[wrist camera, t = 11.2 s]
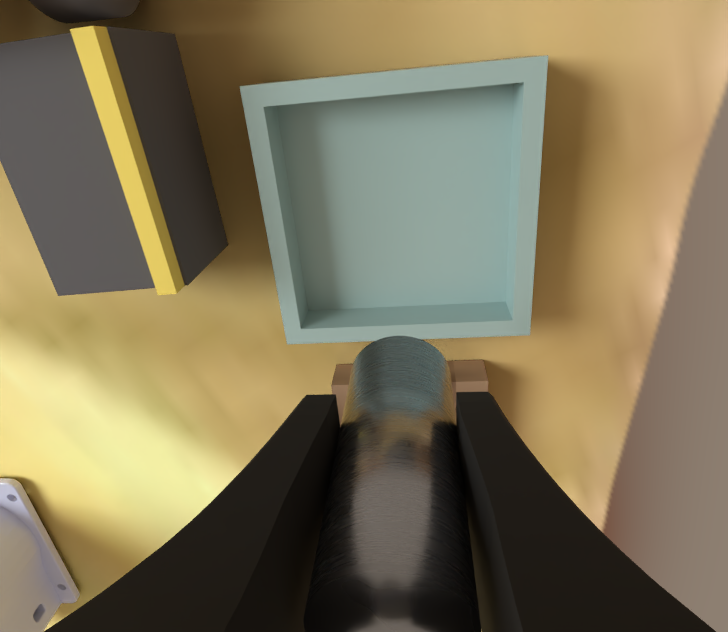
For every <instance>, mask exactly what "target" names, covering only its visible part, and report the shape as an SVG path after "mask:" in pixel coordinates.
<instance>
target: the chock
mask: <svg viewBox="0 0 728 632" xmlns="http://www.w3.org/2000/svg"><path fill="white" fill-rule="evenodd" d="M70 31H71V33H65V34H59V35H52V36H46V37H39V38H33V39H27V40H20V41H14V42H7V43H1V44H0V161H1V163H2V166H3V168H4V170H5V173H6V175H7V177H8V180H9V182H10V184H11V187H12V189H13V191H14V194H15V196H16V198H17V201H18V203H19V205H20V208H21V210H22V212H23V215H24V217H25V219H26V222H27V224H28V226H29V229H30V231H31V233H32V236H33V238H34V240H35V243H36V245H37V247H38V250H39V252H40V254H41V257H42V259H43V261H44V264H45V266H46V268H47V271H48V273H49V275H50V278H51V280H52V282H53V285H54V287H55V289H56V292H57V294H58V296H62V295H75V294H87V293H99V292H111V291H124V290H136V289H148V288H156V291H157V294H158V295H164V294H177V293H178V292H179V291H180V290H181V289H182V288H183V287H184V286H185V285H189V284H190V283H191V282H192V281H193V280H194V279H195V278H196V276H197V275H198V274H199V273H200V272H201V271H202V270H203V269H204V268H205V267H206V266H207V265H208V264H209V263H210V262H211V261H212V260H213V259H214V258H215V257H216V256H217V255H218V254H219V253H220V252H221V251H222V250H223V249H224V248H225V247H226V246H227V245H228V243H227V239H226V235H225V231H224V227H223V223H222V219H221V215H220V211H219V207H218V203H217V199H216V195H215V192H214V188H213V184H212V180H211V176H210V172H209V168H208V164H207V160H206V156H205V152H204V148H203V144H202V140H201V136H200V132H199V128H198V124H197V120H196V116H195V112H194V108H193V104H192V100H191V96H190V92H189V88H188V84H187V81H186V77H185V73H184V69H183V65H182V61H181V57H180V53H179V49H178V45H177V41H176V37H175V34H172V33H163V32H154V31H145V30H136V29H127V28H119V27H101V26H87V27H81V28H74V29H70Z"/></svg>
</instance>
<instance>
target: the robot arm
mask: <svg viewBox="0 0 728 632" xmlns="http://www.w3.org/2000/svg"><path fill="white" fill-rule="evenodd" d="M456 428H457V436H458V445H459V453H460V462H461V468H462V474H463V482H464V490H465V498H466V507H467V515H468V523H469V531H470V540H471V548H472V556H473V565H474V573H475V581H476V590H477V598H478V606H479V615H480V623H481V629H482V632H716V631H715V630H713V629H712V628H711V627H710V626H709V625H707V624H706V623H705V622H704V621H702V620H701V619H700V618H699V617H698V616H696V615H695V614H694V613H693V612H691V611H690V610H689V609H688V608H687V607H685V606H684V605H683V604H682V603H681V602H679V601H678V600H677V599H676V598H674V597H673V596H672V595H671V594H669V593H668V592H667V591H666V590H665V589H664V588H662V587H661V586H660V585H659V584H657V583H656V582H655V581H654V580H653V579H652V578H650V577H649V576H648V575H647V574H646V573H645V572H644V571H643V570H642V569H641V568H640V567H638V566H637V565H636V564H635V563H634V562H633V561H632V560H631V559H630V558H629V557H627V556H626V555H625V554H624V553H623V552H622V551H621V550H620V549H619V548H618V547H617V546H616V545H615V544H613V542H612V541H611V540H610V539H609V538H607V536H605V535H604V534H603V533H602V532H601V531H600V530H599V529H598V528H597V527H596V526H595V525H594V524H593V523H592V522H591V520H590V519H589V518H588V517H587V516H586V515H585V514H584V513H583V512H582V511H581V510H580V509H579V508H578V507H577V506H576V505H575V504H574V502H573V501H572V500H571V499H570V498H569V497H568V496H567V495H566V493H565V492H564V491H563V490H562V489H561V488H560V487H559V486H558V484H557V483H556V482H555V481H554V480H553V479H552V477H551V476H550V475H549V474H548V473H547V471H546V470H545V469H544V468H543V466H542V465H541V464H540V463H539V461H538V460H537V459H536V458H535V456H534V455H533V454H532V453H531V451H530V450H529V449H528V448H527V446H526V445H525V444H524V442H523V441H522V439H521V438H520V437H519V435H518V434H517V433H516V431H515V430H514V428H513V427H512V425H511V424H510V423H509V421H508V420H507V418H506V417H505V415H504V414H503V412H502V410H501V409H500V407H499V406H498V404H497V402H496V401H495V399H494V397H493V396H492V395H491V394H490V393H489V392H456ZM339 432H340V421H339V413H338V406H337V398H336V394H332V395H306V396H305V397H304V398H303V399H302V400H301V402H300V403H299V404H298V405H297V407H296V408H295V409H294V410H293V412H292V413H291V414H290V415H289V416H288V418H287V419H286V420H285V421H284V423H283V424H282V425H281V426H280V428H279V429H278V430H277V431H276V432H275V434H274V435H273V436H272V437H271V438H270V440H269V441H268V442H267V443H266V444H265V445H264V446H263V448H262V449H261V450H260V451H259V452H258V453H257V454H256V456H255V457H254V458H253V459H252V460H251V461H250V462H249V463H248V465H247V466H246V467H245V468H244V469H243V470H242V471H241V472H240V473H239V474H238V475H237V476H236V477H235V478H234V479H233V480H232V481H231V482H230V483H229V485H228V486H227V487H226V488H225V489H224V490H223V491H222V492H221V493H220V494H219V495H218V496H217V497H216V498H215V499H214V500H213V501H212V502H211V503H210V504H209V505H208V506H207V507H206V508H205V509H204V510H202V511H201V512H200V513H199V514H198V515H197V516H196V517H195V518H194V519H193V520H192V521H191V522H190V523H188V524H187V525H186V526H185V527H184V528H183V529H182V530H180V531H179V532H178V533H177V534H176V535H175V536H174V537H172V538H171V539H170V540H169V541H168V542H167V543H165V544H164V545H163V546H162V547H160V548H159V549H158V550H157V551H155V552H154V553H153V554H151V555H150V556H149V557H148V558H146V559H145V560H144V561H142V562H141V563H140V564H138V565H137V566H136V567H135V568H133V569H132V570H131V571H129V572H128V573H127V574H125V575H124V576H123V577H122V578H120V579H119V580H118V581H116V582H115V583H114V584H113V585H111V586H110V587H109V588H107V589H106V590H104V591H103V592H102V593H100V594H99V595H97V596H96V597H94V598H93V599H92V600H90V601H89V602H87V603H86V604H84V605H83V606H82V607H80V608H79V609H77V610H76V611H74V612H73V613H71V614H70V615H68V616H67V617H65V618H64V619H62V620H61V621H59V622H58V623H56V624H55V625H53V626H52V627H50V628H49V629H47V630H46V631H44V629H45V628H46V626H47V625H48V623H49V622H50V620H51V619H52V617H53V615H54V614H55V612H56V611H57V609H58V608H59V606H60V605H61V603H74V602H76V601H77V599H78V598H79V596H80V593H79V591H78V589H77V587H76V585H75V583H74V582H73V580H72V578H71V576H70V574H69V572H68V570H67V569H66V567H65V565H64V563H63V561H62V559H61V557H60V555H59V554H58V552H57V550H56V548H55V546H54V544H53V542H52V541H51V539H50V537H49V535H48V533H47V531H46V529H45V527H44V526H43V524H42V522H41V520H40V518H39V516H38V514H37V513H36V511H35V509H34V507H33V505H32V503H31V501H30V500H29V498H28V496H27V494H26V492H25V490H24V488H23V486H22V485H21V483H20V482H18V481H17V480H15V479H10V478H0V632H43V631H44V632H305V629H304V623H303V620H304V612H305V607H306V602H307V597H308V592H309V586H310V581H311V576H312V571H313V566H314V561H315V555H316V550H317V545H318V540H319V535H320V530H321V525H322V519H323V514H324V509H325V504H326V499H327V494H328V488H329V483H330V478H331V473H332V468H333V463H334V458H335V452H336V447H337V442H338V437H339Z"/></svg>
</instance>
